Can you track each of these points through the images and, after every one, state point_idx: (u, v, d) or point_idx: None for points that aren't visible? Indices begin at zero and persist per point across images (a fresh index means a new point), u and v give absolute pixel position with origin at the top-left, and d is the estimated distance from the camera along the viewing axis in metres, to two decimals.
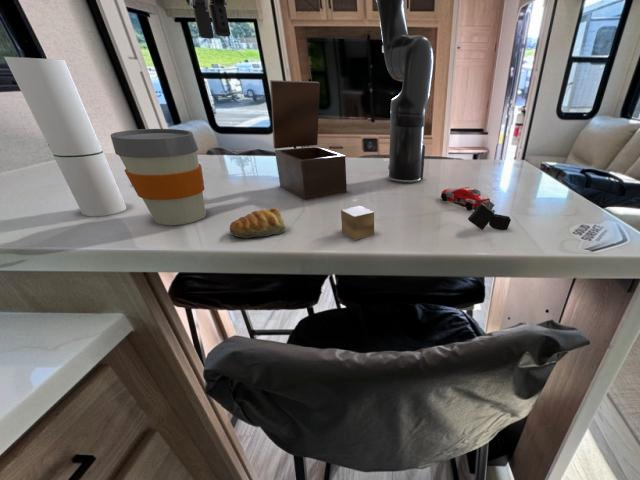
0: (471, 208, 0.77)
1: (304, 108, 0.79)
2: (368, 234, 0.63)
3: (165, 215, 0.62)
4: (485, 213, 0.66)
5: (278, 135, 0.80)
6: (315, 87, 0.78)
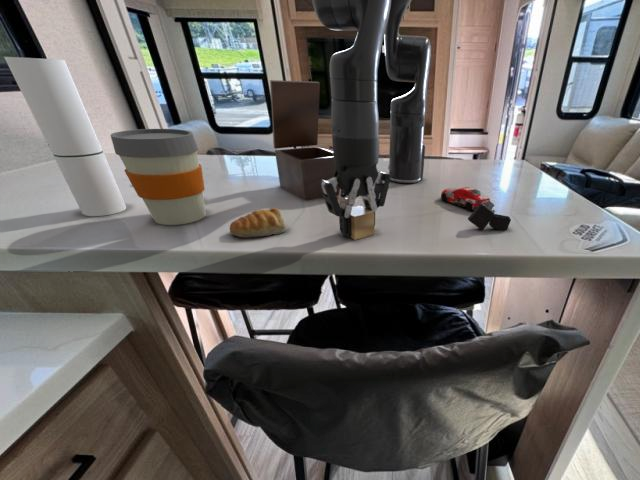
0: (471, 208, 0.77)
1: (304, 108, 0.79)
2: (368, 234, 0.63)
3: (165, 215, 0.62)
4: (485, 213, 0.66)
5: (278, 135, 0.80)
6: (315, 87, 0.78)
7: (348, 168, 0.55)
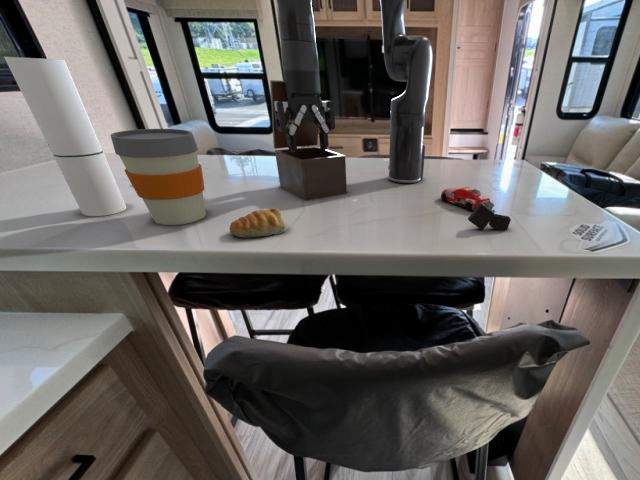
0: (471, 208, 0.77)
1: None
2: None
3: (165, 215, 0.62)
4: (485, 213, 0.66)
5: (278, 135, 0.80)
6: None
7: (296, 96, 0.72)
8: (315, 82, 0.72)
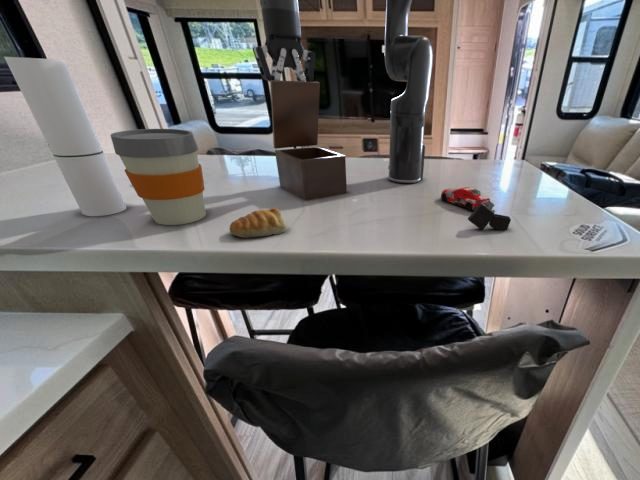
0: (471, 208, 0.77)
1: (304, 108, 0.79)
2: None
3: (165, 215, 0.62)
4: (485, 213, 0.66)
5: (278, 135, 0.80)
6: (315, 87, 0.78)
7: (275, 38, 0.71)
8: (294, 23, 0.70)
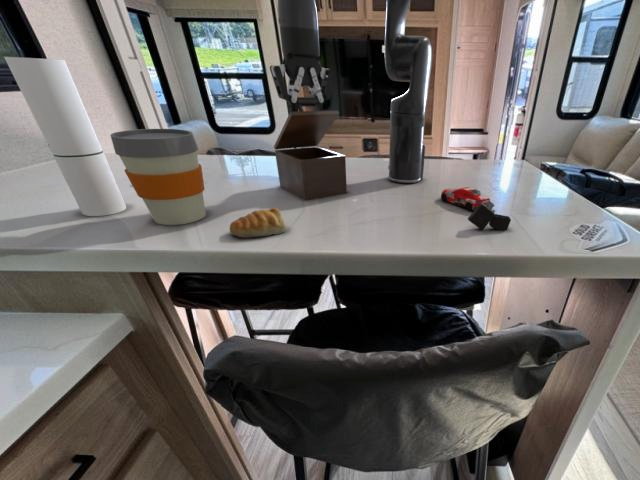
0: (471, 208, 0.77)
1: (315, 127, 0.79)
2: None
3: (165, 215, 0.62)
4: (485, 213, 0.66)
5: (282, 142, 0.80)
6: (333, 116, 0.77)
7: (293, 56, 0.68)
8: (314, 42, 0.67)
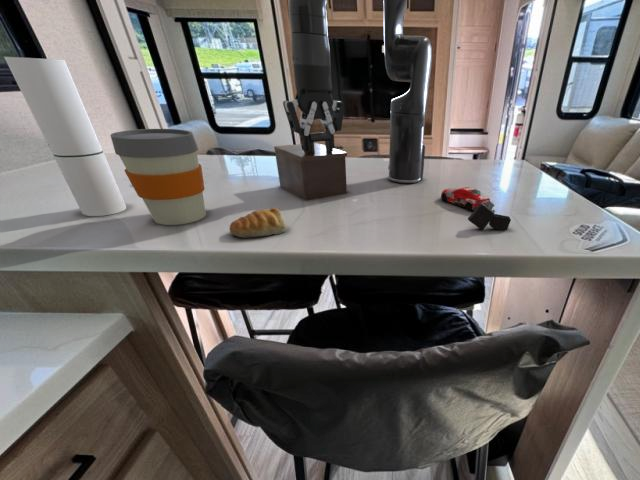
0: (471, 208, 0.77)
1: None
2: None
3: (165, 215, 0.62)
4: (485, 213, 0.66)
5: None
6: None
7: (306, 92, 0.69)
8: (327, 78, 0.68)
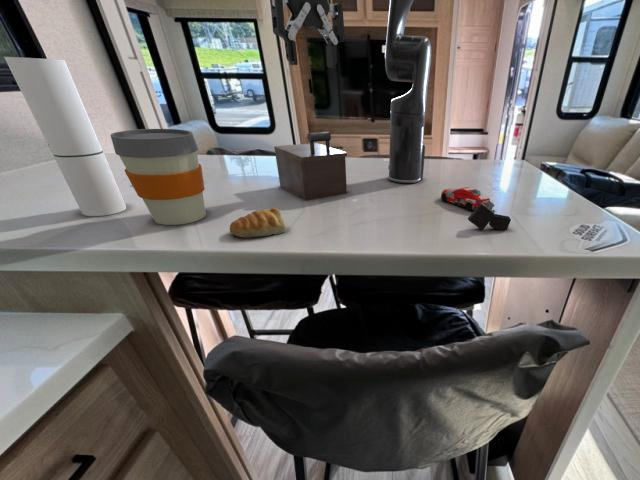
0: (471, 208, 0.77)
1: None
2: None
3: (165, 215, 0.62)
4: (485, 213, 0.66)
5: None
6: None
7: None
8: None
